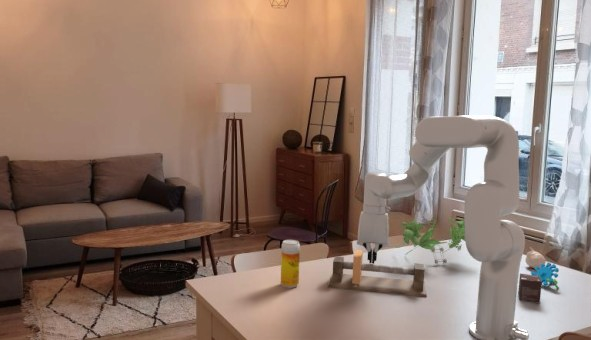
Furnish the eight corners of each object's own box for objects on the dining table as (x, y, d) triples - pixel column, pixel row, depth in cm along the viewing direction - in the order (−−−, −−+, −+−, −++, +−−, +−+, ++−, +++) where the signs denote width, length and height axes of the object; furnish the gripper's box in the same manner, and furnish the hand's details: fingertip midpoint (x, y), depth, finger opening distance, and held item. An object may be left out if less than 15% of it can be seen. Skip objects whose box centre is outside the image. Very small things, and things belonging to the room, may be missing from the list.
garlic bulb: (540, 266, 196) (542, 246, 195) (546, 271, 190) (549, 251, 189) (523, 265, 197) (524, 245, 196) (528, 270, 191) (530, 250, 190)
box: (537, 297, 164) (540, 275, 163) (540, 304, 159) (542, 281, 158) (517, 294, 166) (519, 273, 165) (519, 300, 161) (521, 278, 160)
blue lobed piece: (523, 274, 181) (545, 256, 179) (532, 285, 182) (554, 267, 181) (541, 290, 170) (564, 271, 169) (550, 301, 172) (573, 282, 171)
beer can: (296, 289, 164) (298, 245, 162) (278, 287, 166) (279, 243, 164) (300, 282, 170) (301, 240, 168) (282, 281, 171) (284, 238, 169)
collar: (361, 275, 175) (362, 250, 174) (359, 284, 167) (361, 258, 165) (354, 274, 176) (355, 249, 175) (352, 283, 167) (353, 257, 166)
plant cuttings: (388, 277, 199) (411, 258, 180) (379, 236, 207) (400, 214, 188) (466, 272, 207) (496, 253, 188) (455, 233, 215) (482, 212, 196)
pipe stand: (424, 283, 173) (426, 261, 172) (426, 296, 161) (428, 273, 160) (332, 275, 179) (333, 253, 178) (328, 286, 167) (329, 263, 166)
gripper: (397, 208, 169) (394, 261, 172) (352, 205, 172) (350, 257, 175) (397, 213, 162) (394, 267, 165) (351, 210, 165) (348, 263, 167)
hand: (371, 262), depth 170 cm, fingers closed
